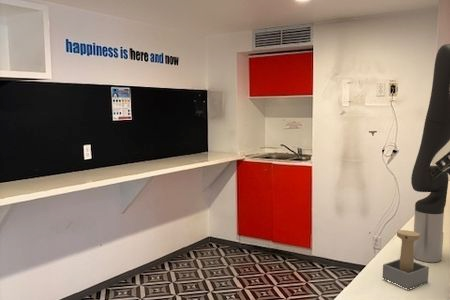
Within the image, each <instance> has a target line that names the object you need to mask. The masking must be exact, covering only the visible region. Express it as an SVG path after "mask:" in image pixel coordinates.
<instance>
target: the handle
mask: <svg viewBox="0 0 450 300" xmlns="http://www.w3.org/2000/svg"><path fill="white" fill-rule="evenodd" d="M396 237H398V238H399V239H400V240H401V248H400V254H399V255H400V256H399V259H400V270H401V271H403V272H406V273H408V274H409V273H411V272H413V266H414V262H415V261H414V259H415V258H414V241H415V240H418V239H419V237H420V234H419V233H417V232H414V230H413V231H412V230H407V229H406V230H405V229H399V230H396Z"/></svg>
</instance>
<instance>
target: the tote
mask: <svg viewBox="0 0 450 300" xmlns="http://www.w3.org/2000/svg"><path fill="white" fill-rule="evenodd" d="M429 269H430V266H427V265H424V264H421V263H420V262H419V263H418V262H416V261H414V266H413V272H411V273H409V274H408V273H406V272H403V271H401V270H400V258H398V259H396V260H395V259H394V260H392V261H390V262H387V263H386V262H385V263H384V264H382V278H384V279H386V280H389V281H391V282H393V283H396V284H398V285H400V286H402V287H404V288H407V289H410V288H413V287H416V286H418V287H420V286H419V285H421V284H423V285H425V284H427V282H428V283H429ZM424 283H425V284H424ZM421 286H422V285H421ZM416 288H417V287H416ZM413 289H414V288H413Z"/></svg>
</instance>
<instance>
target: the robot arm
mask: <svg viewBox="0 0 450 300" xmlns="http://www.w3.org/2000/svg"><path fill="white" fill-rule="evenodd" d="M432 77H433V78H432V86H431V92H430V98H429V103H428V108H427V112H426V116H425V119H424V120H425V121H424V124H423V131H422V136H421V141H420V145H419V148H418V153H417V156H416V160H415V162H414V165H413V169H412V173H411V176H410V177H411V178H410V180H411V181H410V183H411V186H412V187H411V188H412V189H413V191H416V192H417V193H429V194H428V195H427V196H425V197H424V198H422V199H419V200H417V201H416V202H415V204H414V220H413V221H414V222H413V232H417V233H419V234H420V237H419V239H418V240H415V241H414V259H416V260H417V261H420V262H425V263H439V262H441V261H442V258H443V246H444V216H445V213H444V212H445V207H446V204H447V195H448V187H449V176H450V150H449V152H447V153H446V154H444V155H443V156H442V157H441V158H440V159H439V160H437V161H435V162H434V164H435V165H431V164H432V162H433V160H434V158H435V157H436V155H437V154H438V153H439V152H440V151H441V150H442V149H443V148H444V147H446V145H447V144H448V143H449V142H450V43H447V44H443V45H441V46H440V47H439V48H438V51H437V53H436V56H435V60H434V68H433V76H432Z"/></svg>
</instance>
